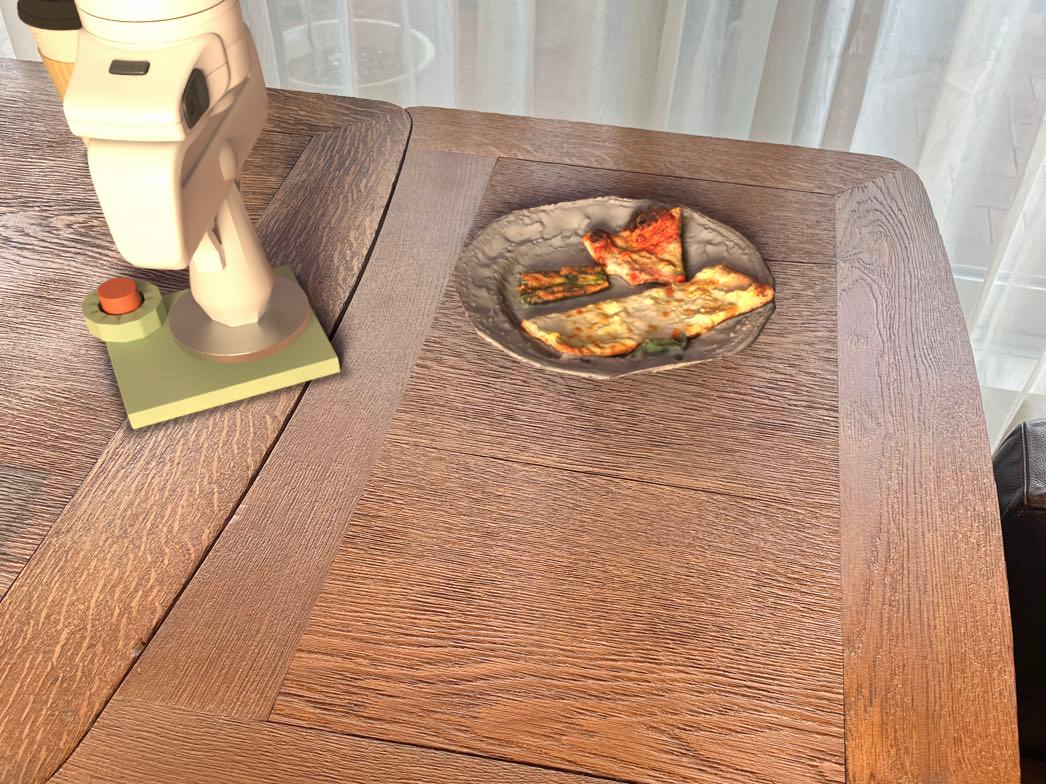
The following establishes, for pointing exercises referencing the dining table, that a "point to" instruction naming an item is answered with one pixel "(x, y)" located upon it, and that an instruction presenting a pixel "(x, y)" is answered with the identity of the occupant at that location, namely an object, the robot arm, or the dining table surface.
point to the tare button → (119, 296)
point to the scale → (193, 360)
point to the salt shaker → (234, 261)
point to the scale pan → (241, 327)
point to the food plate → (614, 287)
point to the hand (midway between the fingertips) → (222, 249)
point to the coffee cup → (54, 37)
